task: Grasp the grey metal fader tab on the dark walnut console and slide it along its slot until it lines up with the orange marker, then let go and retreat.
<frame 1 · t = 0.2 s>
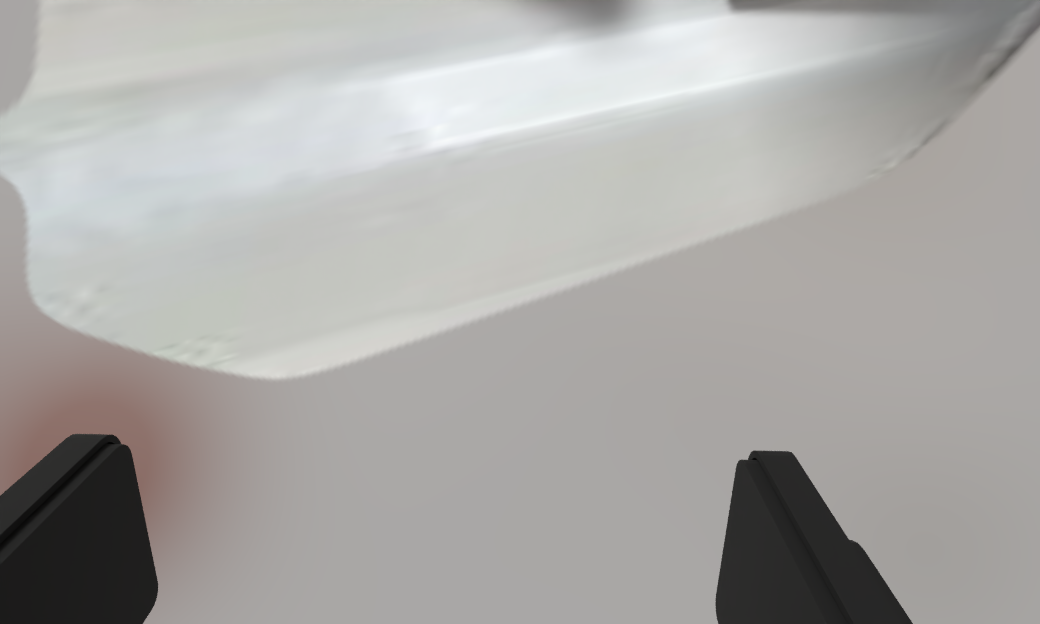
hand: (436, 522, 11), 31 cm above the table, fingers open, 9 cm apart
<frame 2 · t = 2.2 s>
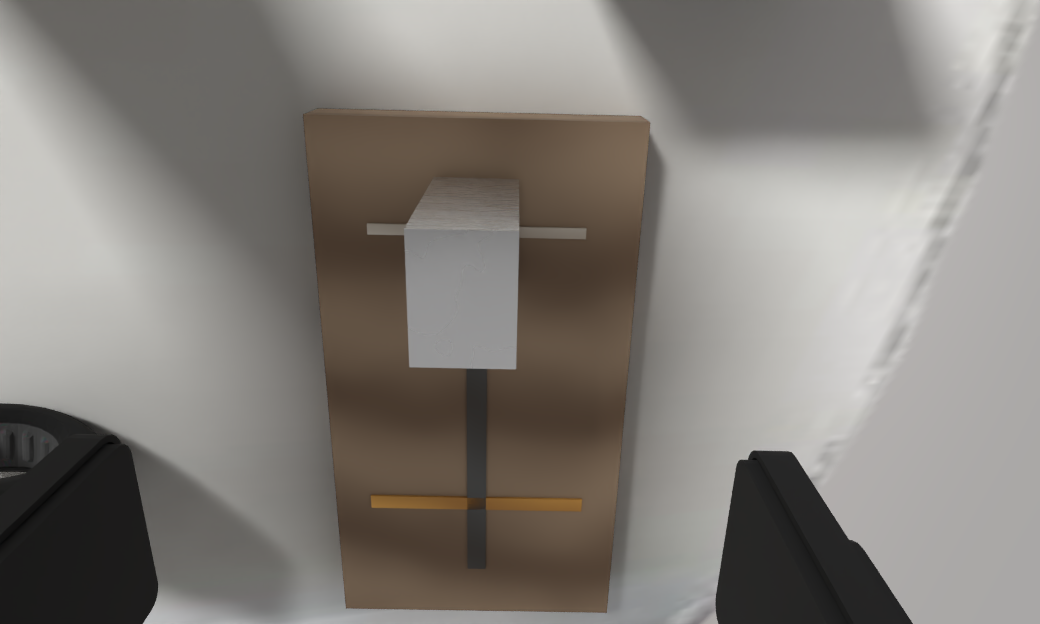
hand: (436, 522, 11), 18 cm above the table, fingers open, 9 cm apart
fader tab: (470, 262, 22), point 6 cm above the table, slide at 0.0 cm
fader console: (479, 376, 30), on the table
controller: (30, 425, 31), on the table
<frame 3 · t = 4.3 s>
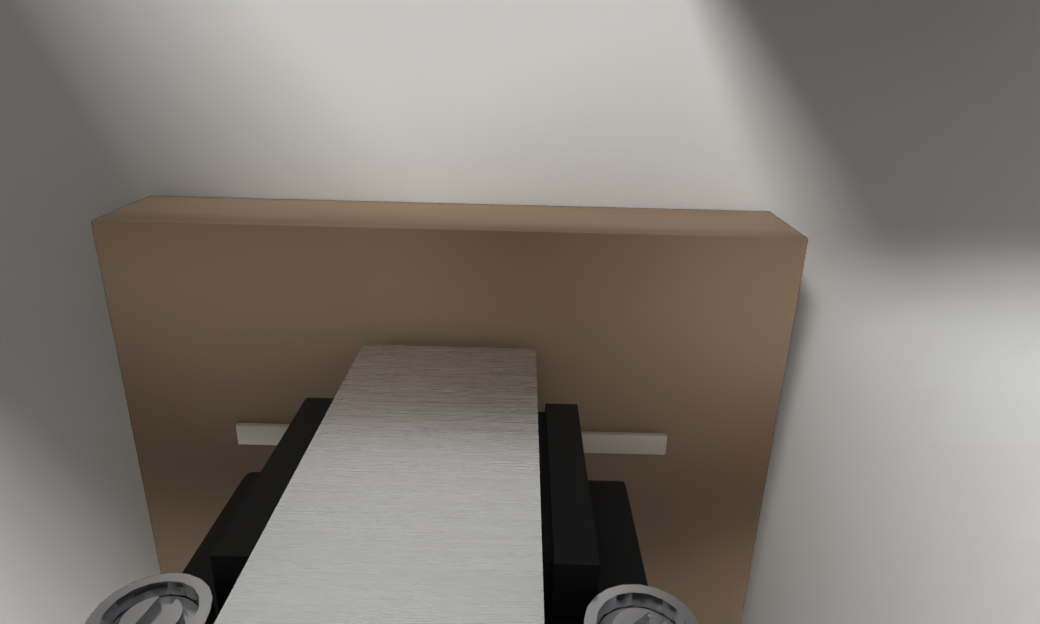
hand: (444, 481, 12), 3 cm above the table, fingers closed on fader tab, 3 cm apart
fader tab: (425, 582, 10), point 6 cm above the table, slide at 0.0 cm, touching gripper
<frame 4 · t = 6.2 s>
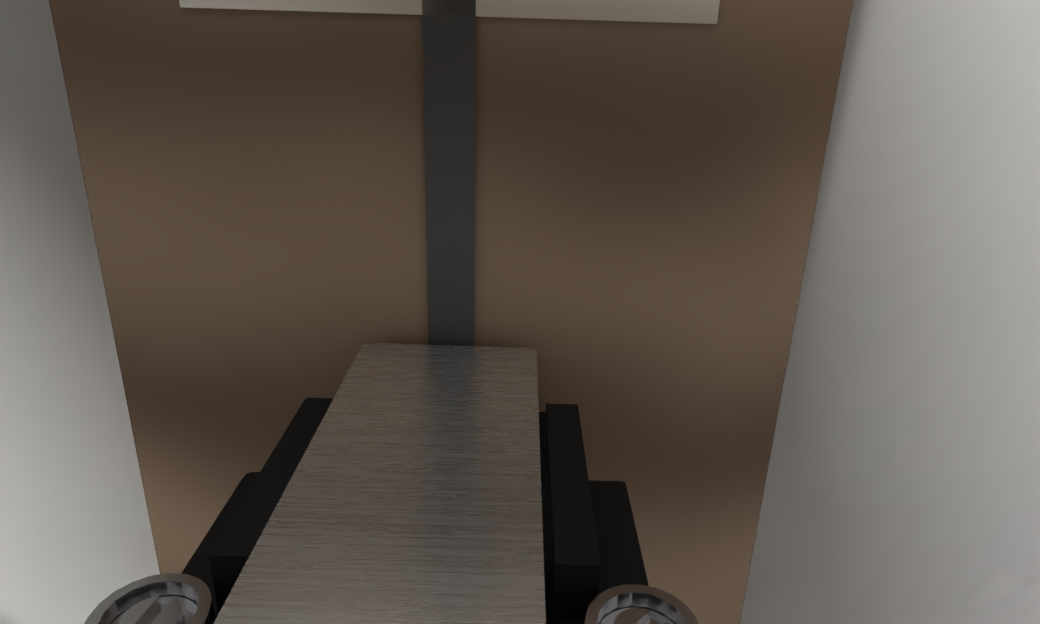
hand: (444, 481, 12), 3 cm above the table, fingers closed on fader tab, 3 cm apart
fader tab: (425, 581, 10), point 6 cm above the table, slide at 7.5 cm, touching gripper
fader console: (461, 367, 15), on the table
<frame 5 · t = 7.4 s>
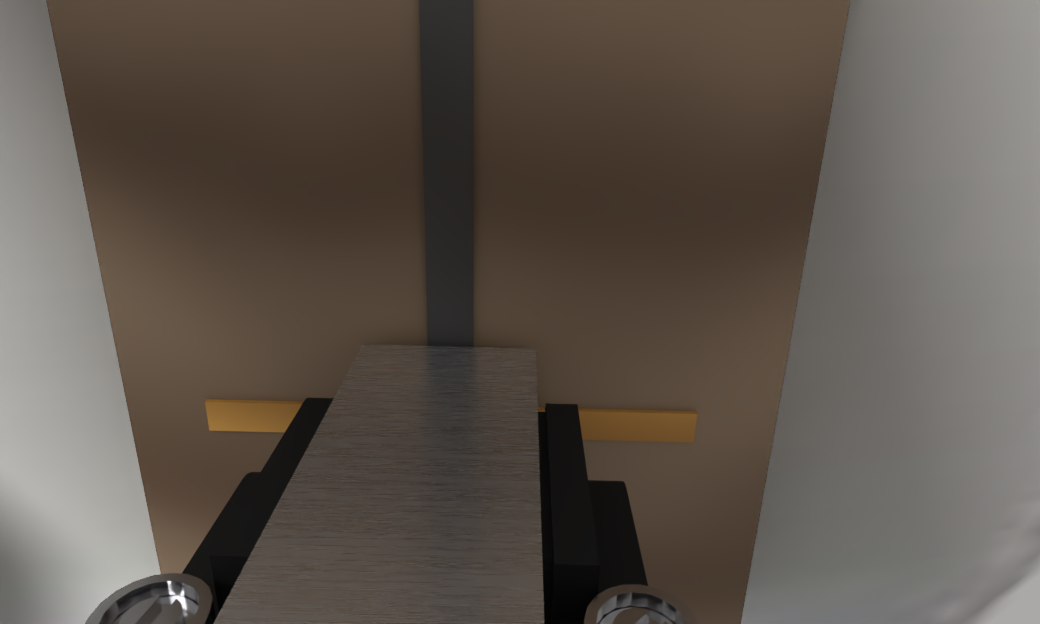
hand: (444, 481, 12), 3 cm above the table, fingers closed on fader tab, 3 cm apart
fader tab: (425, 582, 10), point 6 cm above the table, slide at 12.4 cm, touching gripper
fader console: (459, 130, 13), on the table
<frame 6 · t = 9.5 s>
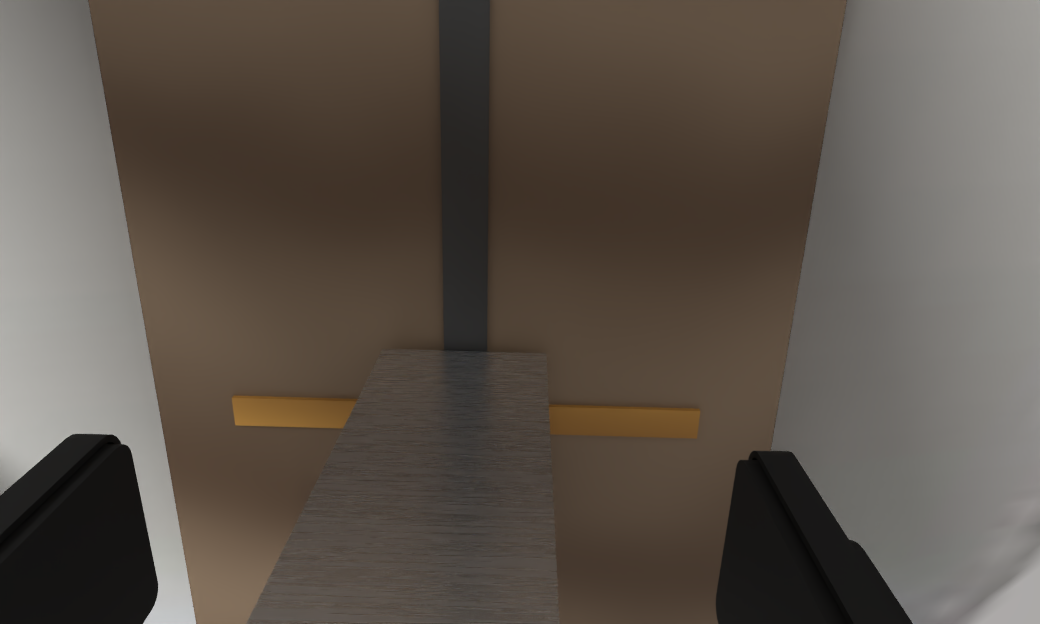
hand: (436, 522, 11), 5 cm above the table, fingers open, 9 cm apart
fader tab: (443, 571, 10), point 6 cm above the table, slide at 12.5 cm
fader console: (474, 140, 14), on the table
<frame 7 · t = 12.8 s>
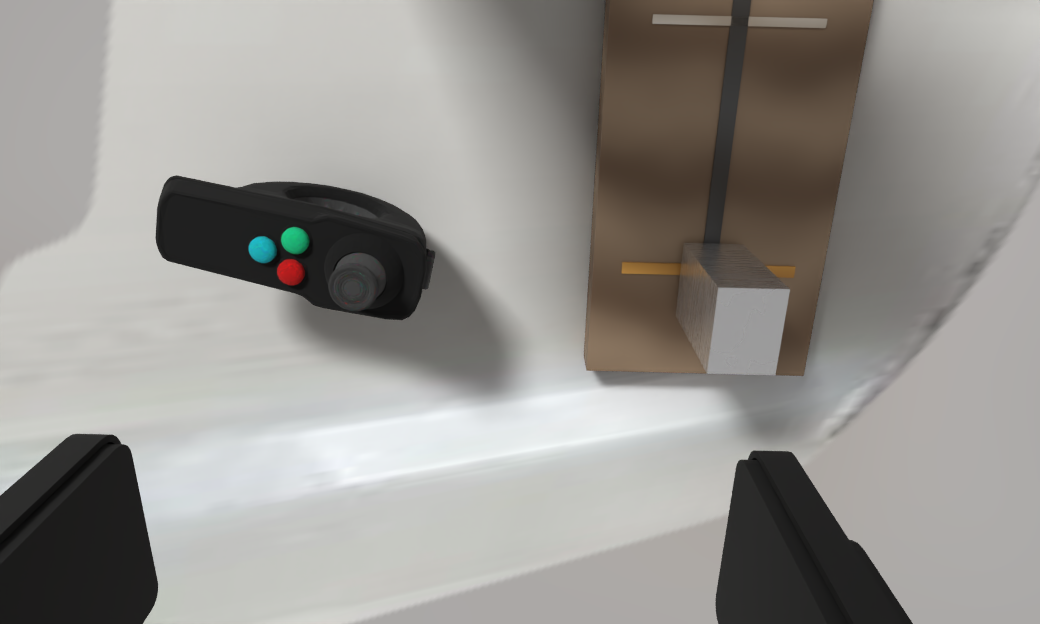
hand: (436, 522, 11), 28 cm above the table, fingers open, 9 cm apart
fader tab: (726, 303, 34), point 6 cm above the table, slide at 12.5 cm
fader console: (710, 166, 37), on the table
controller: (333, 212, 38), on the table
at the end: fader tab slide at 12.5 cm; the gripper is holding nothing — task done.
